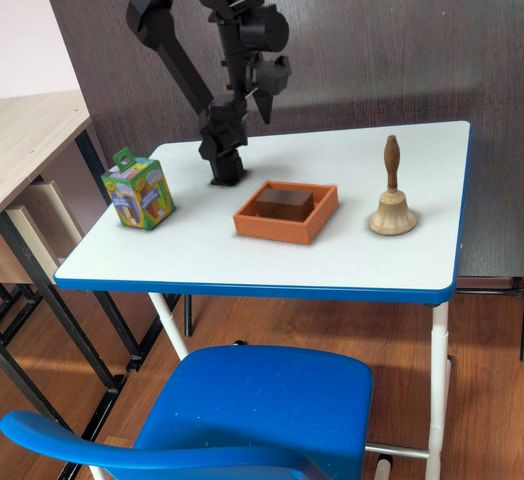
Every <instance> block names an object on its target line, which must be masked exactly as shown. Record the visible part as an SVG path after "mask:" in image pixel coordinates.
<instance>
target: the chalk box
mask: <svg viewBox="0 0 524 480" xmlns="http://www.w3.org/2000/svg"><path fill="white" fill-rule="evenodd" d="M123 157H125V158H124V159H123V160H122V158H123ZM112 159H113V161H114V163H115V165H114V166H112V167H111V168H110V169H108V170H107V171H105V172H104V173H103V174H101V176H100V178H101V181H102V182H103V185H104V186H105V190H106V192H107V193H108V196H109V198H110V200H111V202H112V204H113V207H114V210H115V211H116V214H117V216H118V218H119V220H120V223H121V225H122V226H127V227H133V228H139V229H145V230H150V231H151V230H153V229H154V228H155V227H156V226H157V225H158V224H159V223H160V222H162V221H163V220H164V219H166V217H168V216H169V215H170V214H171V213H172V212H173V211H175V210H177V209H176V206H175V202H174V199H173V197H172V194H171V191H170V187H169V185H168V182H167V179H166V176H165V173H164V171H163V167H162V164H161V162H160V160H159V159H153V158H147V157H141V156H139V157H134V155H133V153H132V152H131V150H130V148H129V147H128V146H125V147H124V148H122V149H121V150H120V151H118V152H117V153H115V155H113V156H112Z"/></svg>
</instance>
